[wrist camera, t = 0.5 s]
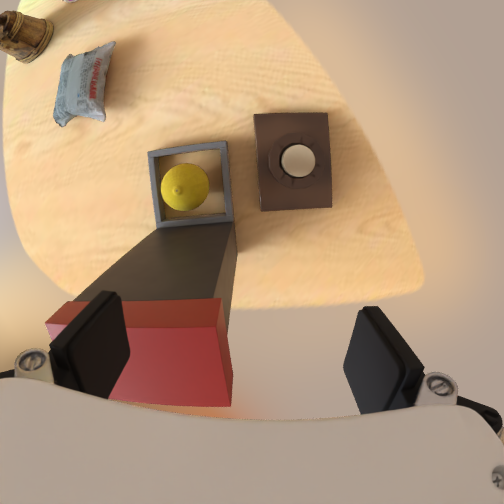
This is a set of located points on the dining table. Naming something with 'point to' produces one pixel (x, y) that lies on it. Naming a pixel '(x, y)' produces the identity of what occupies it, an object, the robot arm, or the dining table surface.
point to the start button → (298, 160)
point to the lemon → (185, 187)
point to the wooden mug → (23, 35)
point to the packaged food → (83, 85)
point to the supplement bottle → (69, 1)
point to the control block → (270, 166)
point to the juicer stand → (173, 302)
